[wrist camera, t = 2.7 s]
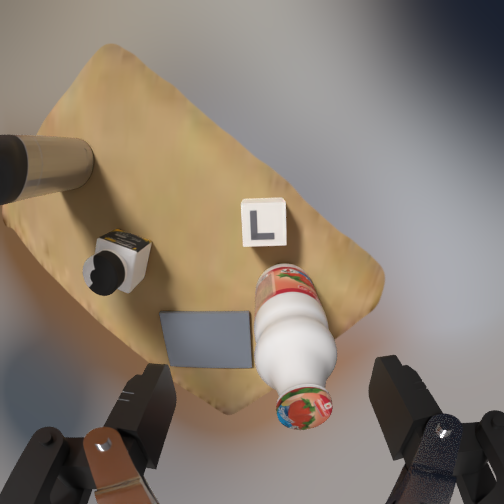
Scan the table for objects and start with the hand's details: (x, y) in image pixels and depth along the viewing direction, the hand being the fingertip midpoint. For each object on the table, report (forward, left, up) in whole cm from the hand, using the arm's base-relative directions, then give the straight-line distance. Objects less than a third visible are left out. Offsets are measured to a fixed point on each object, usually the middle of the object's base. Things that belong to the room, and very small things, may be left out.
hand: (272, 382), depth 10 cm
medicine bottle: (-23, -5, -37) cm, 44 cm away
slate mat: (-11, -22, -37) cm, 44 cm away
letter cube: (0, 0, -37) cm, 37 cm away
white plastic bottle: (+3, -12, -37) cm, 39 cm away
